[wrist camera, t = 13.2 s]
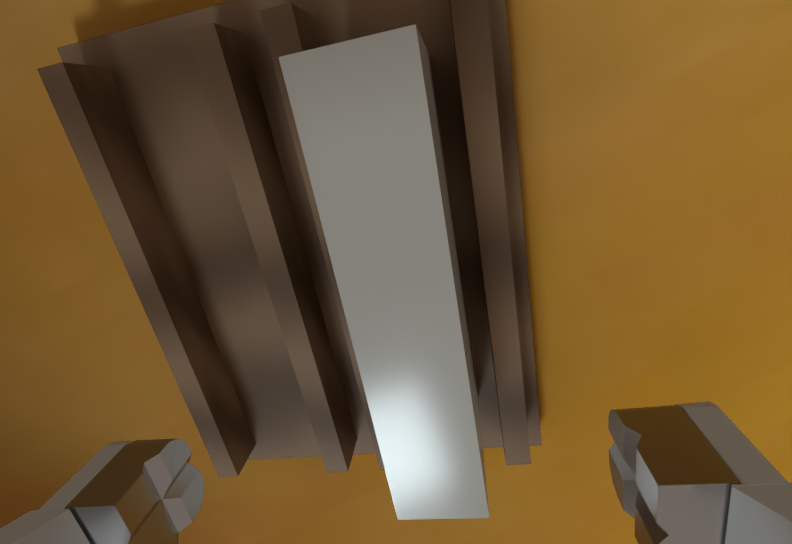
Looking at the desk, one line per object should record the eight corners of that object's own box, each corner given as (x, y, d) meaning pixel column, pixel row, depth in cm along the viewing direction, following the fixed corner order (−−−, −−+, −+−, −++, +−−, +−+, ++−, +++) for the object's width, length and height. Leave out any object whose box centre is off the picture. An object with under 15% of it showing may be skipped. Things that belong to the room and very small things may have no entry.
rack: (537, 429, 20) (550, 481, 18) (240, 446, 23) (212, 492, 20) (496, -61, 13) (508, -104, 11) (79, 51, 16) (3, 40, 13)
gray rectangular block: (478, 396, 19) (489, 517, 13) (413, 400, 19) (397, 519, 14) (430, 55, 14) (415, 24, 8) (344, 74, 14) (278, 57, 9)
